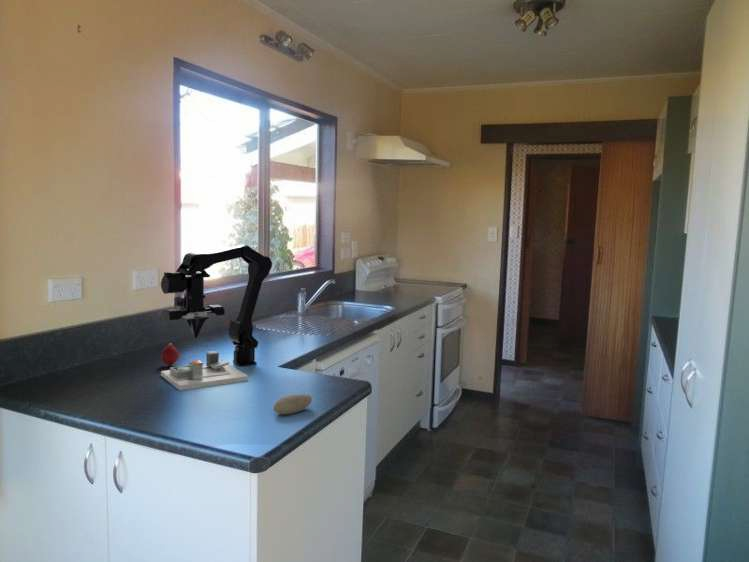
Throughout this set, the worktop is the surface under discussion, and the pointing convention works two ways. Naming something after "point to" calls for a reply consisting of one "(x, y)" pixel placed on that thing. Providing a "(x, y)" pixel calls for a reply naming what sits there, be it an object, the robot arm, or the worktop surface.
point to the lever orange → (196, 369)
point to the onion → (169, 355)
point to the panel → (203, 377)
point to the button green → (183, 369)
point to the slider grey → (211, 358)
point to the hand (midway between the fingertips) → (195, 337)
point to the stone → (292, 404)
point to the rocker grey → (219, 364)
